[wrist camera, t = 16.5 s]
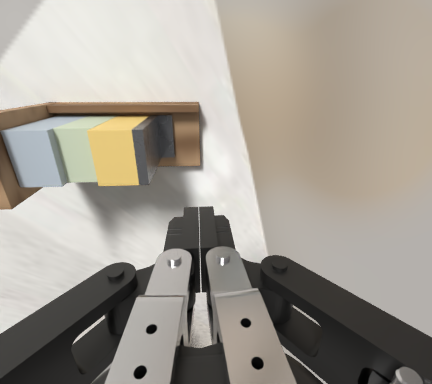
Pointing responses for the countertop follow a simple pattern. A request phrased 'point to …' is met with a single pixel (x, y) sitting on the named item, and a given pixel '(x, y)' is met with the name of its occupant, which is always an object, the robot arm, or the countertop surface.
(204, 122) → the countertop surface
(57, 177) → the book slate
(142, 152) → the bookend
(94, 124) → the book sage
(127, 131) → the book ochre
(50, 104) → the book trough
